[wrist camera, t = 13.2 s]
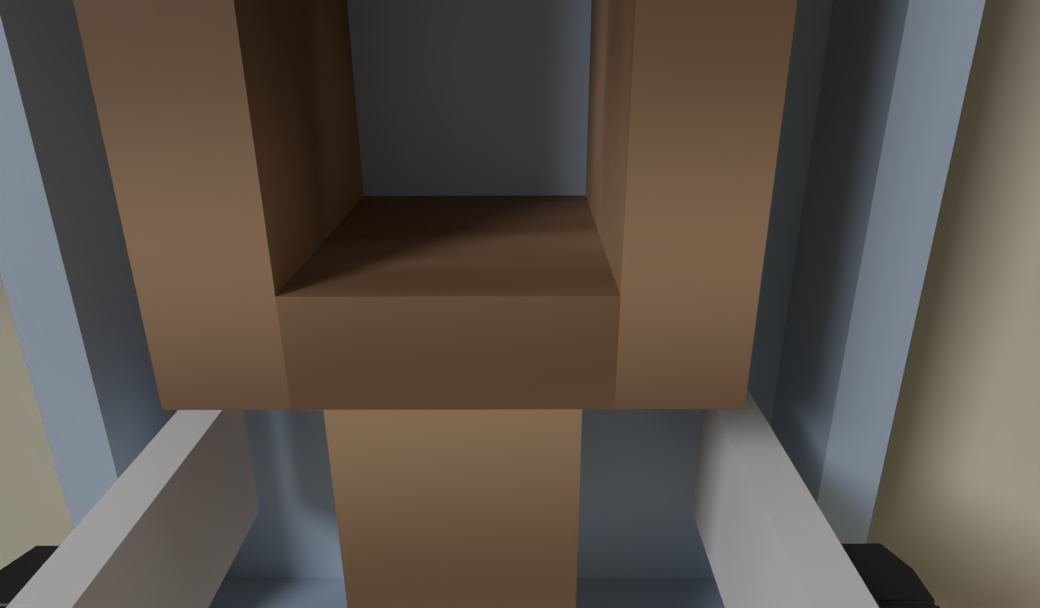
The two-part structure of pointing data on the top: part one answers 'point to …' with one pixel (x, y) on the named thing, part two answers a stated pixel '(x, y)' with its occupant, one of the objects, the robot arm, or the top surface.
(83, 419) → the tray
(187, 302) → the brown wooden forked piece
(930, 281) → the top surface
